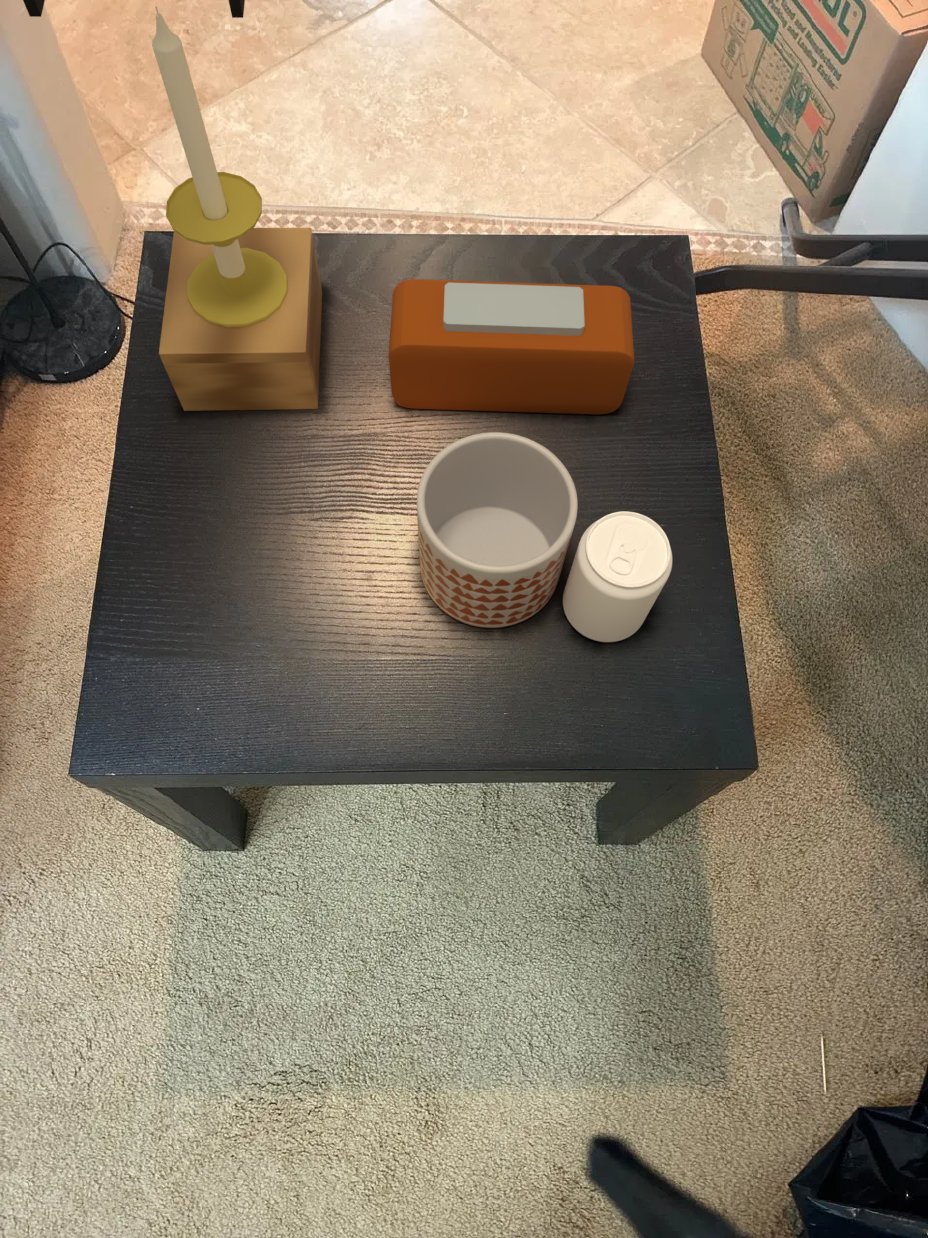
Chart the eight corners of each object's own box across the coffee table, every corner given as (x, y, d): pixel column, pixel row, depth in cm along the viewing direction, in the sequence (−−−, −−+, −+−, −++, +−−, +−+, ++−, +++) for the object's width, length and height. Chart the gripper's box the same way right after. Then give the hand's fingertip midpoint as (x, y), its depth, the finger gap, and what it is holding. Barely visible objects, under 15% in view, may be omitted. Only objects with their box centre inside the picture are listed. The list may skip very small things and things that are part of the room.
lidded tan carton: (184, 410, 91) (158, 353, 83) (196, 292, 97) (173, 227, 89) (318, 409, 92) (305, 351, 84) (322, 291, 98) (311, 227, 90)
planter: (494, 658, 81) (503, 603, 70) (390, 567, 85) (382, 500, 73) (588, 563, 86) (611, 496, 74) (485, 480, 89) (491, 403, 77)
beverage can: (657, 587, 85) (689, 528, 74) (627, 658, 82) (657, 607, 71) (580, 555, 86) (601, 492, 75) (548, 624, 83) (565, 568, 72)
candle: (224, 236, 89) (140, -55, 64) (307, 273, 87) (254, -10, 62) (166, 302, 85) (53, 22, 61) (251, 342, 84) (172, 72, 59)
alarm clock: (615, 353, 96) (636, 275, 85) (618, 416, 92) (641, 344, 82) (396, 346, 95) (391, 267, 85) (392, 409, 92) (386, 335, 82)
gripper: (270, -499, 42) (322, -29, 62) (-260, -514, 41) (-36, -32, 61) (262, -429, 39) (320, 40, 59) (-308, -443, 38) (-57, 39, 58)
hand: (139, 4), depth 60 cm, fingers open, 13 cm apart
